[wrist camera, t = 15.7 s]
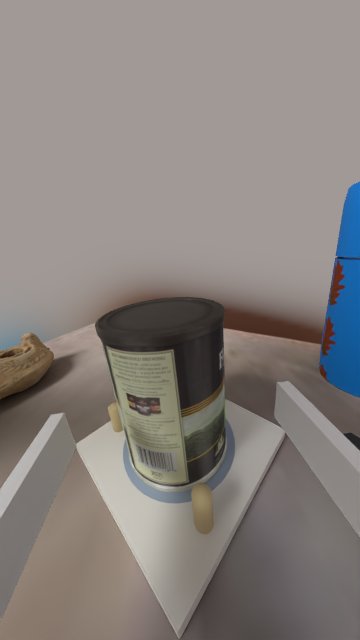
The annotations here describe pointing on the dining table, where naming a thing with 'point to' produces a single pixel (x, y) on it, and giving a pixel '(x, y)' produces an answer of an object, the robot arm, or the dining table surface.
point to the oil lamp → (23, 365)
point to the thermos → (344, 304)
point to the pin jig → (181, 507)
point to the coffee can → (169, 387)
